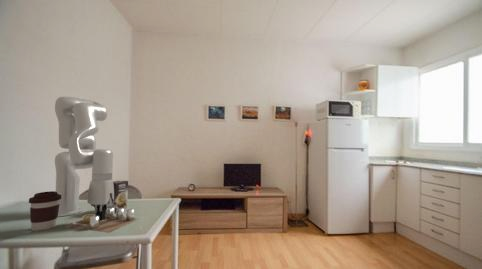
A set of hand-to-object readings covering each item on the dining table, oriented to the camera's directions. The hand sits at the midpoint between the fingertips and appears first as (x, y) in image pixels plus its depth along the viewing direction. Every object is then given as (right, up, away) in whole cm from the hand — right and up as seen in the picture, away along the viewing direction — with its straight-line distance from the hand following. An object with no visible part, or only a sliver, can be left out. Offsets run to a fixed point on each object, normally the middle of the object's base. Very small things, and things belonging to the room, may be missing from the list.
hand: (100, 219), depth 92 cm
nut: (-6, -1, +1) cm, 7 cm away
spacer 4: (+11, -1, +3) cm, 12 cm away
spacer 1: (+2, -1, -6) cm, 7 cm away
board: (+1, -2, 0) cm, 3 cm away
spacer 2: (+1, -1, +6) cm, 6 cm away
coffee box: (-3, -4, +16) cm, 17 cm away
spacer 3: (+6, -1, +4) cm, 8 cm away
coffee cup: (-20, -2, -5) cm, 21 cm away
